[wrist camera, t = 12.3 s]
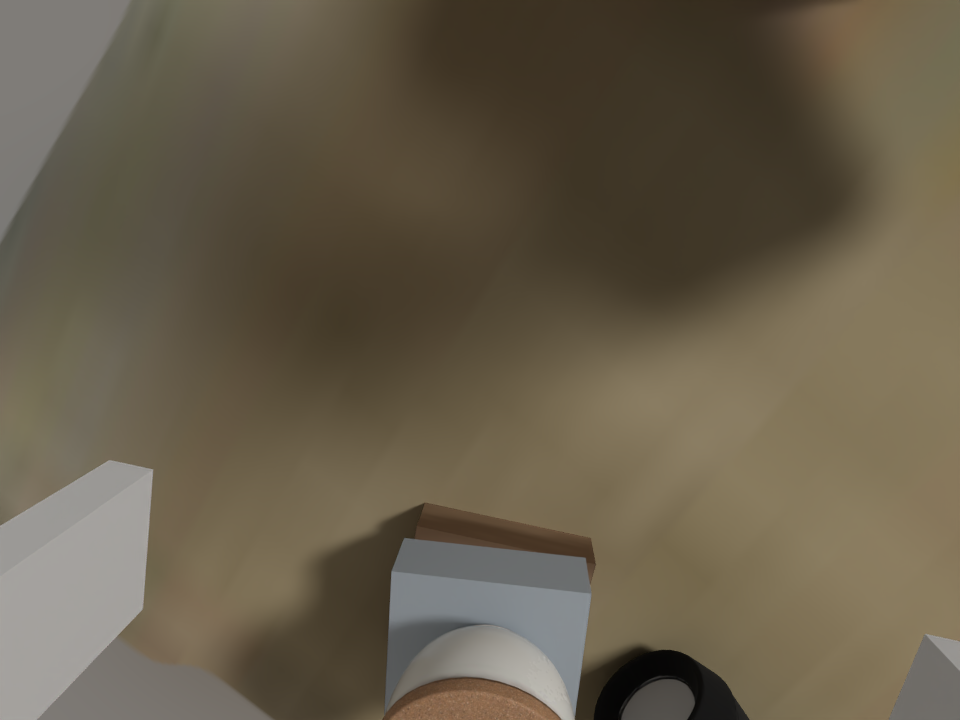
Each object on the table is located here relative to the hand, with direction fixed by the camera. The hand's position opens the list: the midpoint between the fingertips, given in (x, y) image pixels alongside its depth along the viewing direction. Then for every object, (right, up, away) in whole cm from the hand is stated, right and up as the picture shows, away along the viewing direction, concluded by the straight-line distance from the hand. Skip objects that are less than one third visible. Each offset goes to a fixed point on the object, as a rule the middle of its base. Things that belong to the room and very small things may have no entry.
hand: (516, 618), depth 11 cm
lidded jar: (0, -14, +28) cm, 32 cm away
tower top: (0, -14, +32) cm, 35 cm away
